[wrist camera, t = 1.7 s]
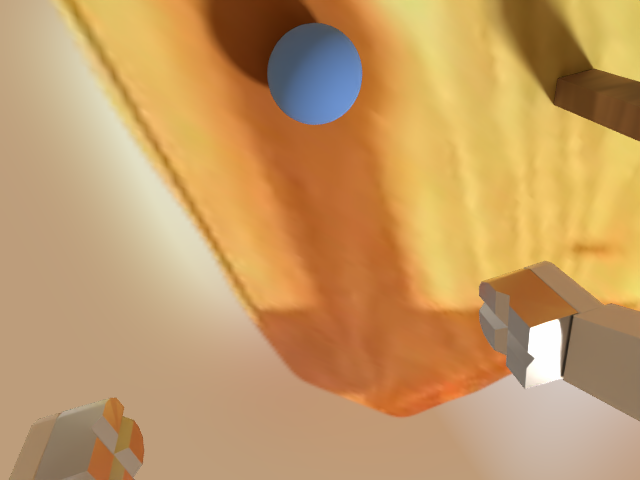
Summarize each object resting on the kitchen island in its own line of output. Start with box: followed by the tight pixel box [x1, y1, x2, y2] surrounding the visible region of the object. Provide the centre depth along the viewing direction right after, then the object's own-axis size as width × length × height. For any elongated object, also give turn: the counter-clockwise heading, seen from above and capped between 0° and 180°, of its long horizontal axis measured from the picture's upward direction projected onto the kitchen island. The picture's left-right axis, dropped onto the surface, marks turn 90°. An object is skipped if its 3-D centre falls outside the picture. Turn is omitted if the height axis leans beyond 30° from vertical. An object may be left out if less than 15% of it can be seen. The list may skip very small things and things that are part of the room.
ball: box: [267, 23, 362, 125], centre depth 25 cm, size 6×6×6 cm
